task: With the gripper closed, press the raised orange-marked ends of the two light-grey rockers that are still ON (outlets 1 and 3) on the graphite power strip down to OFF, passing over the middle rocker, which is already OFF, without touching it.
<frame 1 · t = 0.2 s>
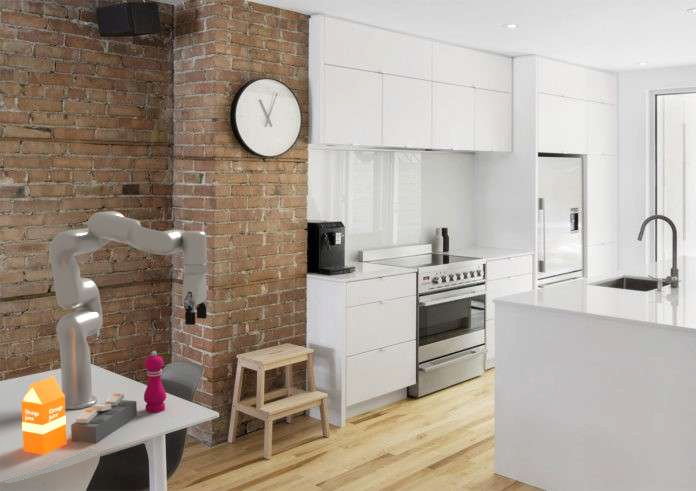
hand: (196, 321, 230), 31 cm above the table, tool pointing down, fingers open, 9 cm apart
power strip: (105, 427, 219), on the table
rocker 2: (101, 407, 219), point 7 cm above the table, hinge at -12.0°
rocker 1: (114, 399, 226), point 7 cm above the table, hinge at 12.0°
rocker 3: (86, 415, 211), point 7 cm above the table, hinge at 12.0°
orange juice: (45, 448, 204), on the table
pepper mill: (155, 410, 236), on the table
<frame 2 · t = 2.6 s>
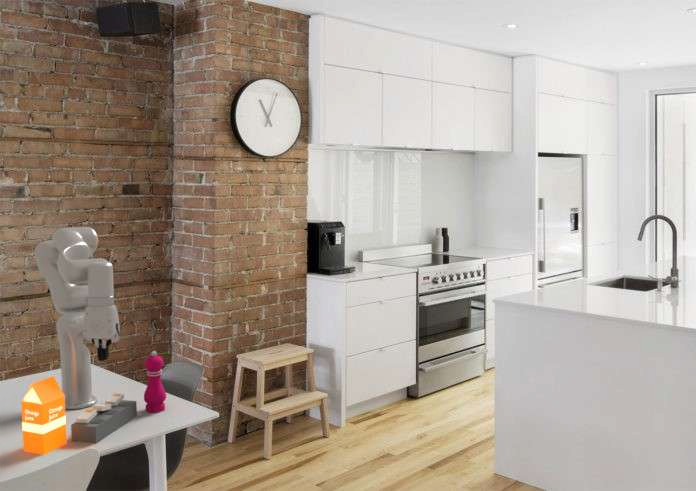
hand: (103, 359, 219), 21 cm above the table, tool pointing down, fingers closed
nothing on the table moved.
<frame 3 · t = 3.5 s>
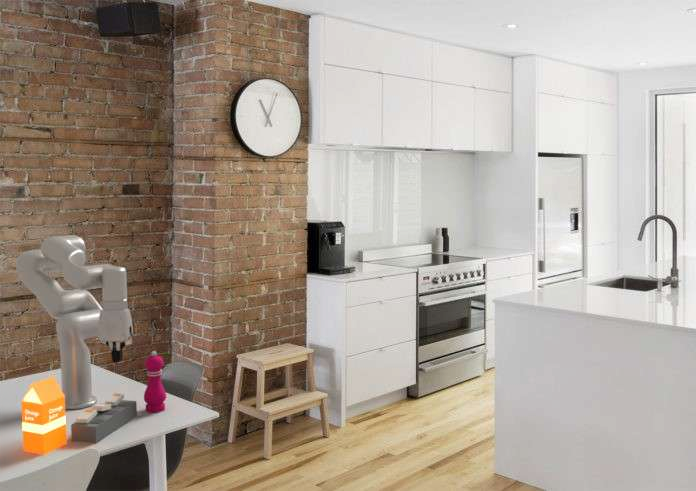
hand: (117, 361, 227), 18 cm above the table, tool pointing down, fingers closed
nothing on the table moved.
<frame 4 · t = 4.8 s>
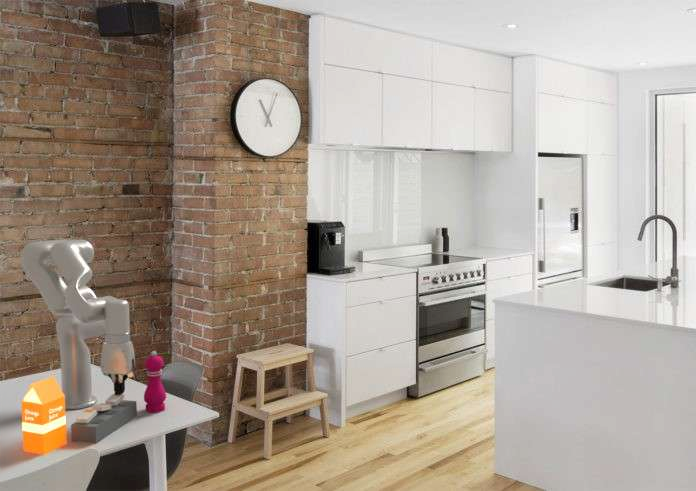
hand: (119, 393, 229), 8 cm above the table, tool pointing down, fingers closed
rocker 1: (114, 399, 226), point 7 cm above the table, hinge at 11.3°, touching gripper
everything else where it was.
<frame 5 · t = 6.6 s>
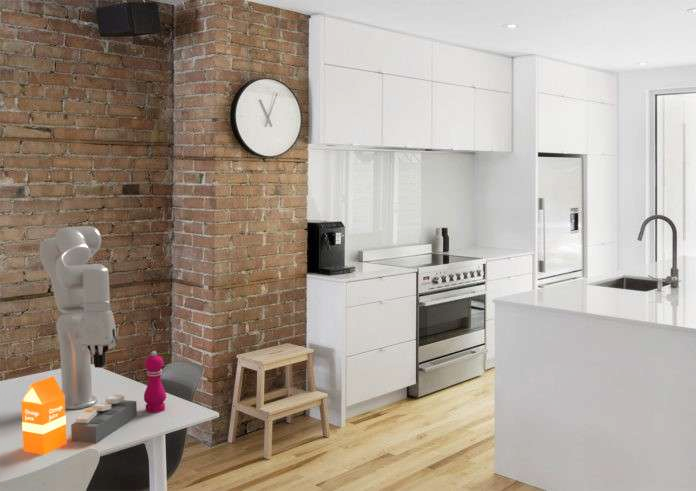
hand: (99, 366, 216), 20 cm above the table, tool pointing down, fingers closed
rocker 1: (115, 399, 227), point 7 cm above the table, hinge at -4.5°
everything else where it was.
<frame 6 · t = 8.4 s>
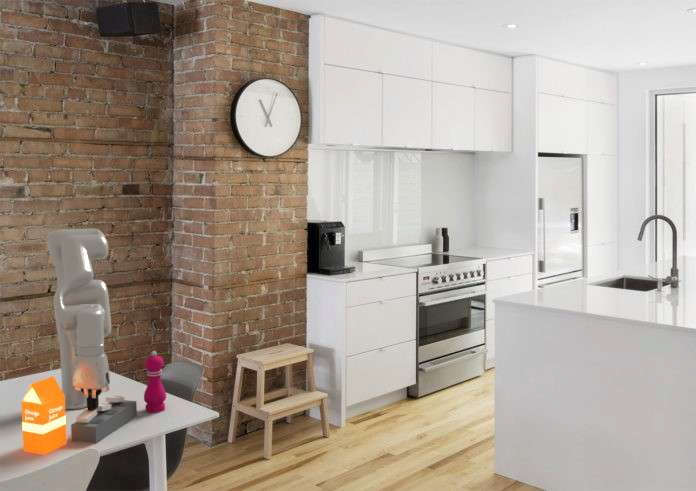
hand: (92, 409, 214), 8 cm above the table, tool pointing down, fingers closed
rocker 1: (115, 399, 227), point 7 cm above the table, hinge at -14.6°
rocker 3: (86, 415, 211), point 7 cm above the table, hinge at 9.7°, touching gripper
everything else where it was.
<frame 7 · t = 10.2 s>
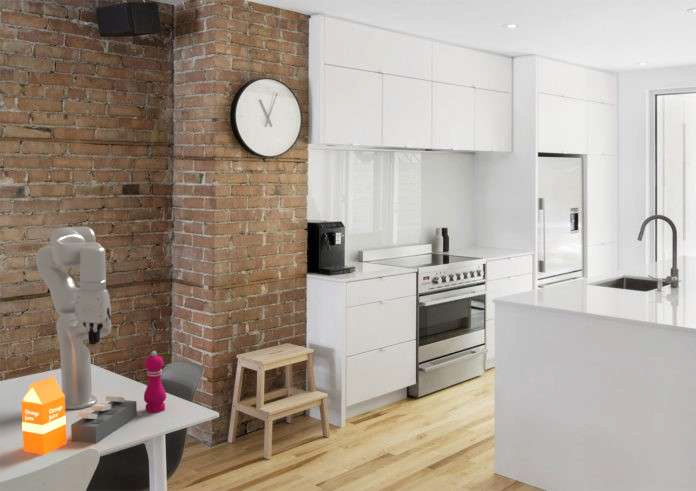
hand: (94, 343, 221), 26 cm above the table, tool pointing down, fingers closed
rocker 1: (115, 399, 227), point 7 cm above the table, hinge at -21.2°, touching power strip
rocker 3: (87, 415, 211), point 7 cm above the table, hinge at -21.6°, touching power strip
everything else where it was.
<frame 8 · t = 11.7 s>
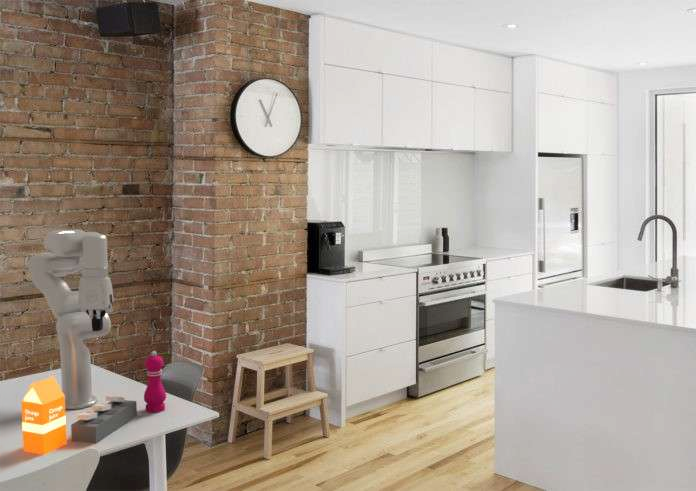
hand: (97, 330, 224), 29 cm above the table, tool pointing down, fingers closed
rocker 1: (115, 399, 227), point 7 cm above the table, hinge at -20.0°, touching power strip
rocker 3: (86, 415, 211), point 7 cm above the table, hinge at -10.1°
everything else where it was.
at the end: rocker 1 at -20° (first picture: +12°); rocker 3 at -9° (first picture: +12°); rocker 2 at -12° (first picture: -12°) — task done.
